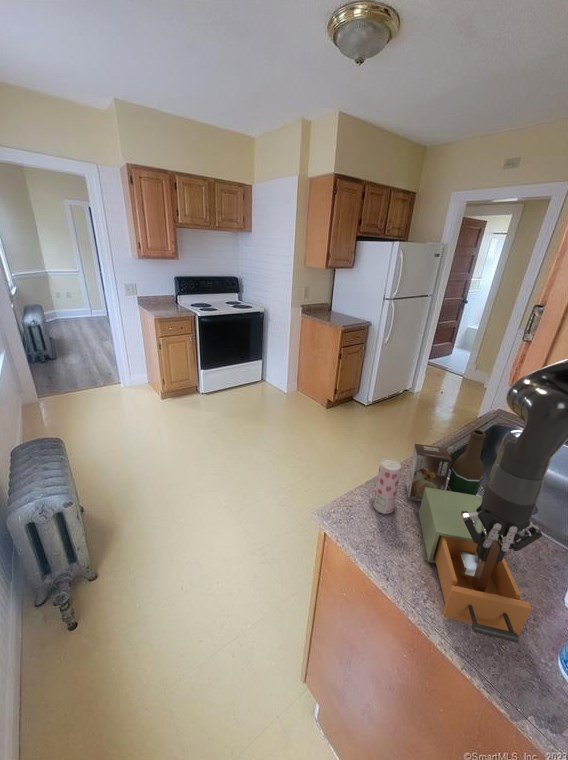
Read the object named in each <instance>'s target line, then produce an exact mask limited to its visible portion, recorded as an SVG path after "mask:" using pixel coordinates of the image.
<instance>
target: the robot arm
mask: <svg viewBox="0 0 568 760" xmlns="http://www.w3.org/2000/svg"><path fill="white" fill-rule="evenodd" d="M505 397H506V398H505V400H506V404H507V405H508V408H509V409H510V410H511V411H512V412H513V413H514V414H516V415H517V416H518V417H519V418H520V419H521V420H522V421H524V426H523V429H515V430H514V429H513V430H510V431H508V432H507V433H505V435H504V436H503V437H502V440H501V442H500V446H499V448H498V452H497V456H496V459H495V462H494V463H493V465H492V467H491V469H490V472H489V475H488V477H487V482H486V484H485V488H484V491H483V494H482V503H481V505H480V506H479V507H478V508H477V509H476V512H471V513H468V512H467V511H465V510H464V511H462V512H461V515H462V517H463V520H464V523H465V525H466V527H467V529H468V531H469V533H470V535H471V537H472V539H473V541H474V543H476V544H478V545H477V548H476V552H477V554H478V557H479V558H480V560H481V561H486V558H487V555H488V553H489V550H490V548H489V547H490V546H491V543H492V541H495V538H496V536H497V534H498V536H497V542H498V544H499V547H500V551H499V553H498V556H497V559H496V562H495V564H498V563H499V562H501V561H502V560H503V558H505V554H506V552H508V551H509V550H513V551H514V552H519V551H521V550H523V549H524V548H526V547H527V546H529V545H531V544H533V543H534V542H536V541H537V540H539V539H540V538H542V537H543V533H542V531H541V529H540V528H539V527H538V525H537V523H536V522H534V521H531V519H532V517H533V514H534V511H535V509H536V507H537V504H538V501H539V498H540V497H541V494H542V491H543V488H544V483H545V478H546V476H547V473H548V470H549V468H550V465H551V463H552V460H553V457H554V456H555V455H556V454H557V453H558V452H559V450H560V449H561V448H563V446H564V445H565V444H566V443H567V441H568V358H567V359H564V360H560V361H557V362H554V363H552V364H549V365H547V366H544V367H542V368H539V369H537V370H534V371H532V372H530V373H528V374H525V375H524V376H522V377H521V378H519V379H517V381H515V382H514V383H513V384H512V385H511V386H510V387H509V389H508V391H507V393H506V396H505ZM477 519H480V521H481V523H482V526H481V527H482V529H481V532H480V533H478V532H477V531H476V528H475V526H476V524H477Z"/></svg>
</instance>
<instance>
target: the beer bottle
mask: <svg viewBox="0 0 568 760" xmlns="http://www.w3.org/2000/svg"><path fill="white" fill-rule="evenodd" d="M469 435H470V437H469V439H468V442H467V445H466V447H465V450H464V452H463V453H462V454H460V455H459V456H458V458H457V459H456V460H455V461H454V462H453V465H452V466H451V471H450V474H449V478H448V480H447V481H448V482H447V484H446V488H445V490H446V491H452V492H458V493H464V494H470V495H476V496H478V492H479V488H480V486H481V482H482V479H483V476H484V471H485V467H484V464H483V462H482V460H481V454H482V449H483V445H484V441H485V438H487V435H486V433H485V432H484V431H483V430H480V429H472V430H471V432H469Z"/></svg>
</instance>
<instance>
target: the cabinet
mask: <svg viewBox="0 0 568 760" xmlns="http://www.w3.org/2000/svg"><path fill="white" fill-rule="evenodd" d="M482 497H483V495H482V496H481V495H470V494H464V493H458V492H452V491H446V489H445V490H440V489H434V488H428V487H425V490H424V494H423V498H422V502H420V507H419V511H418V517H419V523H420V528H421V531H422V537H423V541H424V546H425V547H424V548H425V552H426V557H427V562H428V563H431V564H435V565H436V561H435V556H434V554H435V551H436V547H437V543H438V540H439V536H440V535H441V536H446V537H451V538H456V539H461V540H467V541H472V542H474V541H473V539H472V537H471V535H470V533H469V531H468V529H467V527H466V525H465V523H464V520H463V517H462V515H461V512H462V511H464V510H465V511H467V512H468V513H471V512H476V509H477V508H478V507H479V506H480V505H481V503H482ZM481 526H482V523H481V521H480V519H477V524H476V526H475V528H476V531H477V532H478V533H480V532H481V529H482V527H481ZM497 536H498V534H497ZM497 536H496V540H497Z"/></svg>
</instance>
